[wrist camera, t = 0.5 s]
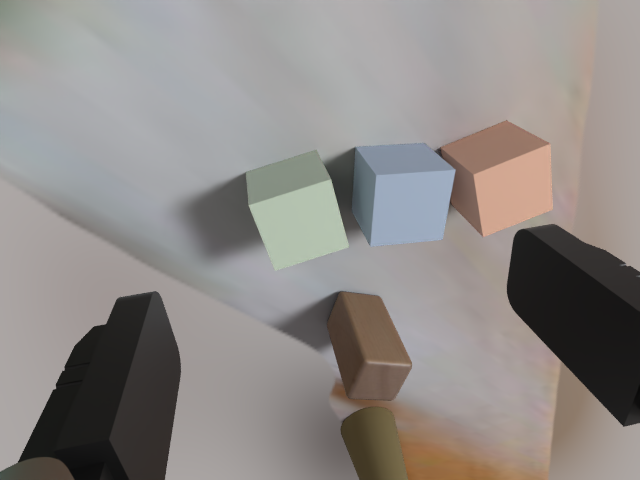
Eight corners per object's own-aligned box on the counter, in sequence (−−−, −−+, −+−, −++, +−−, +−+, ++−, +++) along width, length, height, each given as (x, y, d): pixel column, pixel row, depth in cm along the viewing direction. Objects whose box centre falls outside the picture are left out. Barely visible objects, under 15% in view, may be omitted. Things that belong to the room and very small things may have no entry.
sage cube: (245, 171, 29) (248, 205, 25) (316, 149, 29) (331, 179, 25) (268, 231, 31) (275, 270, 27) (333, 210, 32) (349, 247, 27)
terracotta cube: (439, 147, 30) (473, 174, 26) (505, 120, 30) (550, 143, 26) (451, 203, 33) (483, 237, 29) (511, 179, 33) (552, 209, 29)
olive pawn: (398, 403, 45) (441, 513, 36) (389, 438, 48) (427, 547, 39) (343, 410, 44) (373, 524, 35) (337, 445, 47) (364, 558, 38)
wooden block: (324, 324, 37) (345, 400, 31) (338, 288, 35) (364, 361, 29) (366, 328, 39) (395, 403, 32) (381, 294, 37) (415, 365, 30)
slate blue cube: (354, 146, 29) (376, 175, 25) (423, 142, 30) (455, 169, 26) (351, 211, 32) (370, 246, 28) (415, 205, 33) (442, 239, 28)
